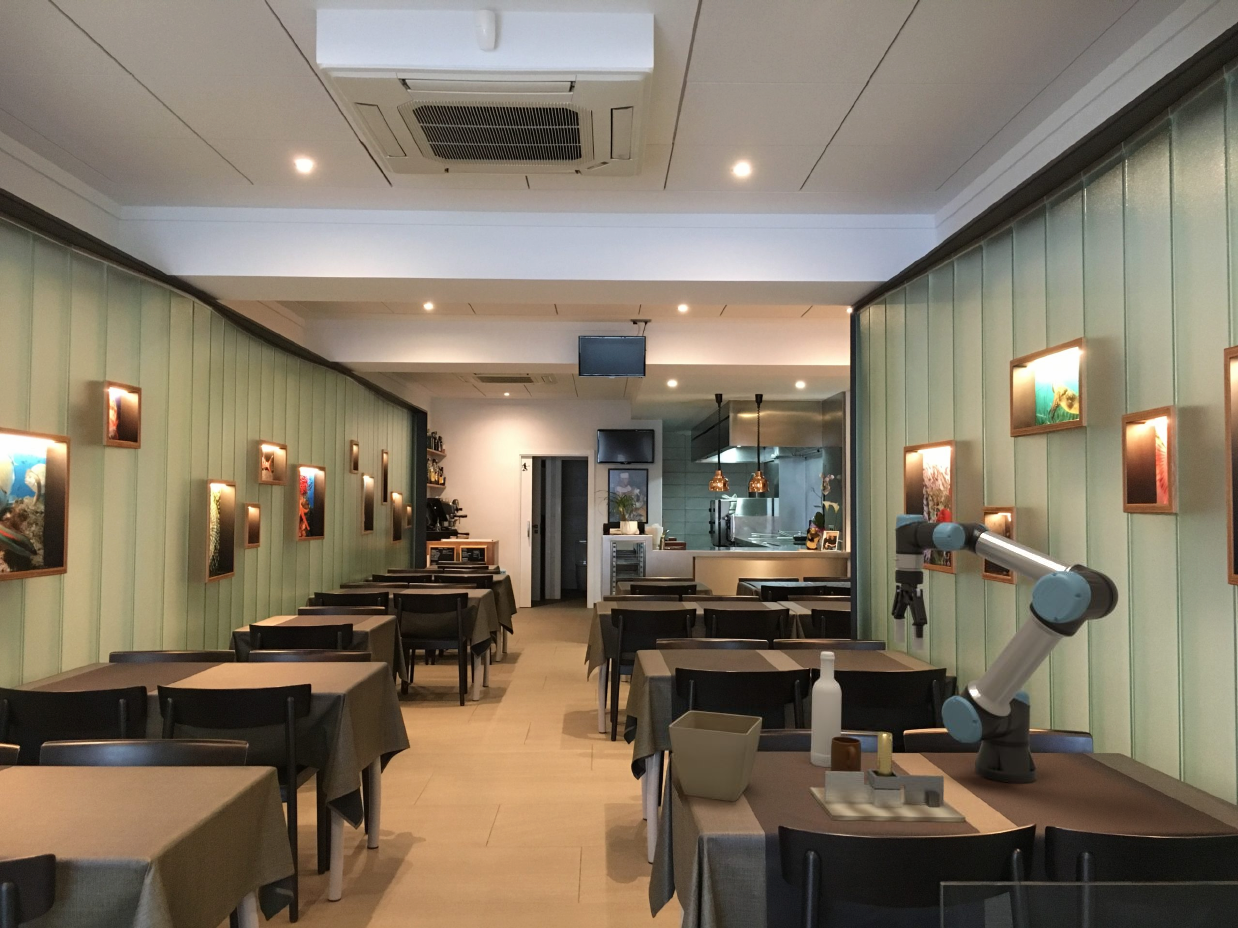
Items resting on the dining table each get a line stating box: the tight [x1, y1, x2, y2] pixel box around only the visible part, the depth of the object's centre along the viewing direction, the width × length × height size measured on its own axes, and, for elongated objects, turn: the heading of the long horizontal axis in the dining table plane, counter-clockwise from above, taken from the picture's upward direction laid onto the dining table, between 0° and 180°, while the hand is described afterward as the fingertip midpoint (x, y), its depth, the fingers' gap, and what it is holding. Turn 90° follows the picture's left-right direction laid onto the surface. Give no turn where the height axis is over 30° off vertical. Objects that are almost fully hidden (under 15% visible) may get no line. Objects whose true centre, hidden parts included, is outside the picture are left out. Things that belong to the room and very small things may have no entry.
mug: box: [830, 736, 862, 772], centre depth 233 cm, size 12×8×9 cm, turn 179°
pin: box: [876, 731, 893, 789], centre depth 211 cm, size 3×3×16 cm
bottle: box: [810, 651, 842, 768], centre depth 247 cm, size 8×8×30 cm
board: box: [809, 787, 967, 823], centre depth 212 cm, size 30×20×1 cm, turn 92°
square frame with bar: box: [866, 768, 945, 804], centre depth 211 cm, size 17×6×6 cm, turn 90°
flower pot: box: [668, 710, 763, 802], centre depth 220 cm, size 19×19×17 cm
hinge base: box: [824, 770, 940, 808], centre depth 211 cm, size 26×6×7 cm, turn 92°
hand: (908, 646), depth 252 cm, fingers open, 13 cm apart
